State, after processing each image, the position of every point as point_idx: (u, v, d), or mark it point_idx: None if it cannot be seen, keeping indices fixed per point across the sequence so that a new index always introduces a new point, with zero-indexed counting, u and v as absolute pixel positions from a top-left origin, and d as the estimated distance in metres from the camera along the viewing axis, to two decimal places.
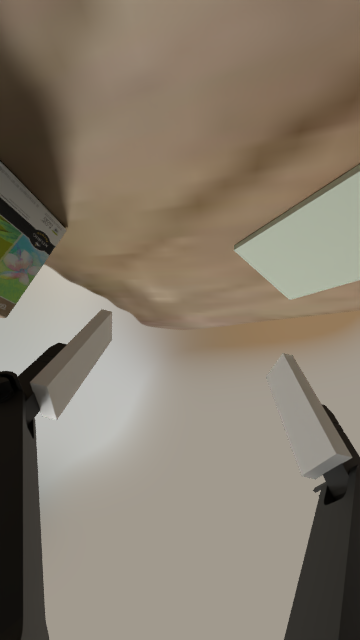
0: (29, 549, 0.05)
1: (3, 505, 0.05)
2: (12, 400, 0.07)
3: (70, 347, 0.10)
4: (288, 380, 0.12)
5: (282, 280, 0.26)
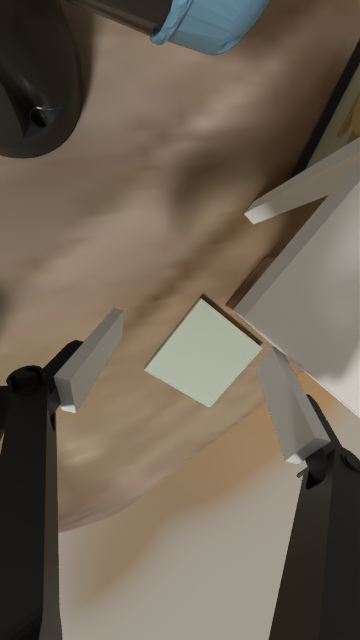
0: (49, 539, 0.05)
1: (28, 494, 0.05)
2: (38, 393, 0.08)
3: (87, 344, 0.10)
4: (276, 371, 0.13)
5: (192, 388, 0.31)
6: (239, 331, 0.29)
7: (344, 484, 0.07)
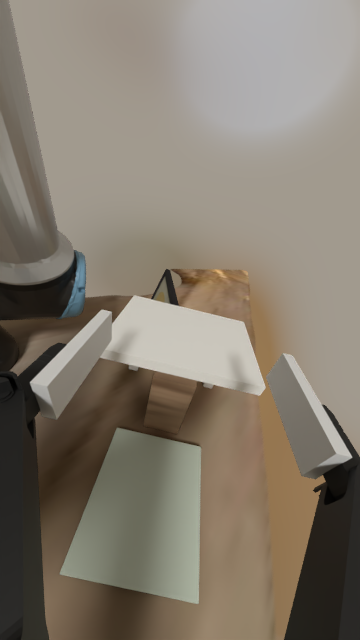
0: (29, 549, 0.05)
1: (4, 506, 0.05)
2: (12, 400, 0.07)
3: (70, 347, 0.10)
4: (288, 380, 0.12)
5: (151, 567, 0.19)
6: (167, 440, 0.30)
7: None
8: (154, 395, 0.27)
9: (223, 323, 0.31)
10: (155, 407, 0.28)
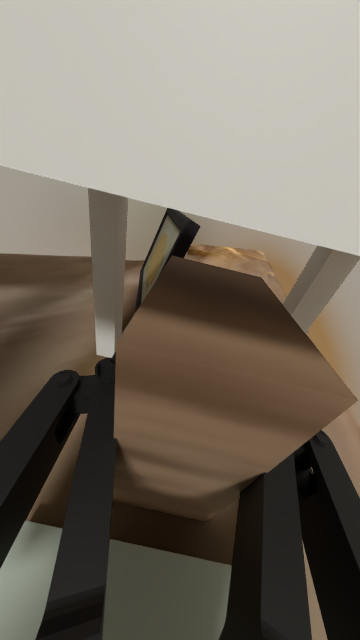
0: (110, 522, 0.06)
1: (101, 473, 0.06)
2: (114, 384, 0.09)
3: None
4: None
5: None
6: (182, 562, 0.09)
7: None
8: (134, 431, 0.06)
9: None
10: (143, 466, 0.08)
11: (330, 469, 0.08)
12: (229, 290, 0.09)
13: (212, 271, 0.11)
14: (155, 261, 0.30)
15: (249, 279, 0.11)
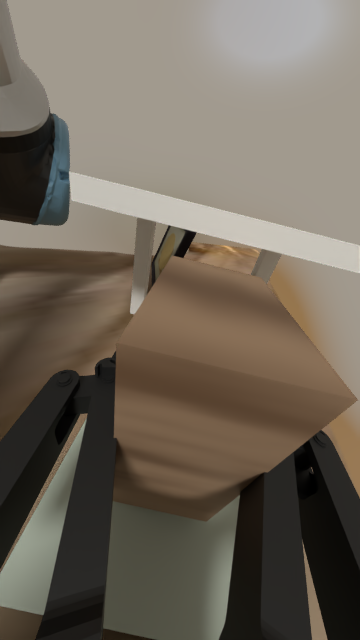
0: (110, 522, 0.06)
1: (101, 473, 0.06)
2: (114, 384, 0.09)
3: None
4: None
5: (177, 586, 0.10)
6: None
7: None
8: (134, 431, 0.06)
9: None
10: (144, 465, 0.08)
11: (330, 469, 0.08)
12: (229, 290, 0.09)
13: (212, 271, 0.11)
14: (166, 253, 0.40)
15: (249, 279, 0.11)
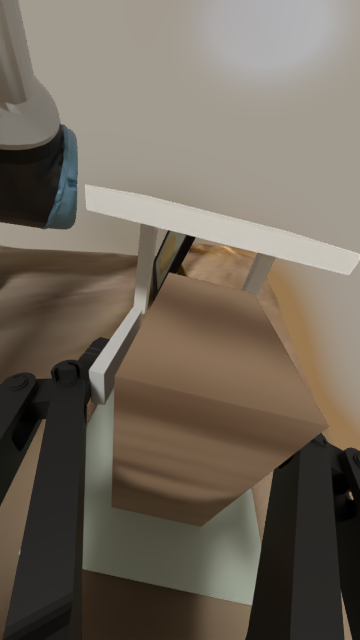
0: (78, 528, 0.05)
1: (64, 481, 0.06)
2: (75, 386, 0.08)
3: (114, 341, 0.11)
4: None
5: (181, 545, 0.11)
6: None
7: (310, 460, 0.08)
8: (131, 447, 0.07)
9: (264, 225, 0.23)
10: (140, 476, 0.09)
11: None
12: (221, 310, 0.09)
13: (207, 289, 0.11)
14: (167, 255, 0.42)
15: (242, 296, 0.12)
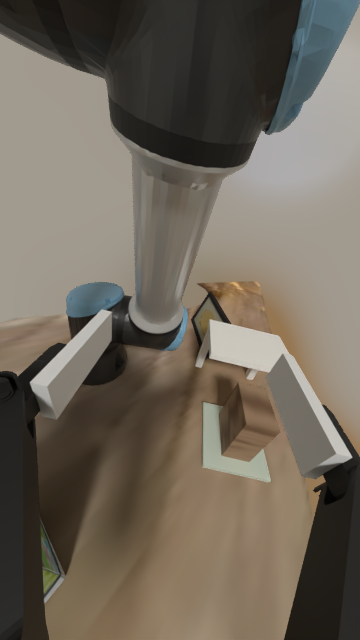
0: (29, 549, 0.05)
1: (3, 506, 0.05)
2: (12, 400, 0.07)
3: (70, 347, 0.10)
4: (288, 380, 0.12)
5: (244, 466, 0.38)
6: None
7: None
8: (241, 436, 0.34)
9: (267, 337, 0.49)
10: (239, 443, 0.35)
11: None
12: (258, 401, 0.36)
13: (251, 390, 0.38)
14: (207, 324, 0.68)
15: (262, 391, 0.38)
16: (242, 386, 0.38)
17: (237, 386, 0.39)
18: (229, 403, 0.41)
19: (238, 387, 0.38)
